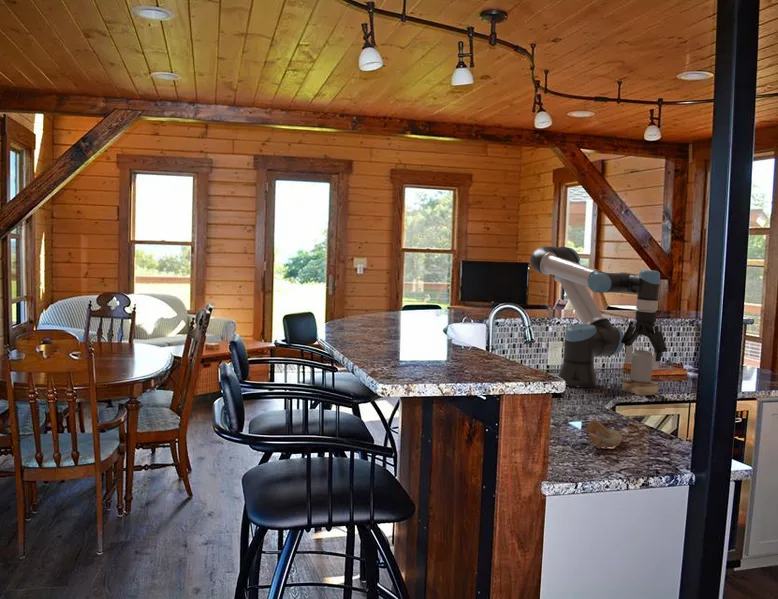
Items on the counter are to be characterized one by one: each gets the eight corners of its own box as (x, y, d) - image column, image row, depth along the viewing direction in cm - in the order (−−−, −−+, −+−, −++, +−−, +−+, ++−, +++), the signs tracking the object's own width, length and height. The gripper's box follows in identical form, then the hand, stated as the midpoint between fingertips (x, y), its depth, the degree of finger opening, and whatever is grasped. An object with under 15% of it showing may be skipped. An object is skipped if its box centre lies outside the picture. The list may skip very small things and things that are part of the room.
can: (647, 380, 273) (650, 349, 272) (653, 384, 266) (655, 353, 265) (627, 379, 274) (630, 348, 273) (632, 383, 267) (635, 351, 265)
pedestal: (622, 390, 272) (623, 380, 272) (639, 388, 276) (640, 378, 276) (640, 395, 264) (641, 385, 264) (657, 394, 268) (658, 383, 268)
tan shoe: (576, 451, 190) (579, 415, 189) (604, 435, 207) (606, 402, 206) (607, 459, 185) (610, 422, 184) (633, 442, 202) (636, 408, 201)
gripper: (680, 315, 258) (674, 372, 260) (629, 306, 280) (624, 359, 282) (665, 315, 254) (660, 373, 257) (615, 306, 277) (610, 360, 279)
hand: (641, 366), depth 269 cm, fingers open, 13 cm apart
